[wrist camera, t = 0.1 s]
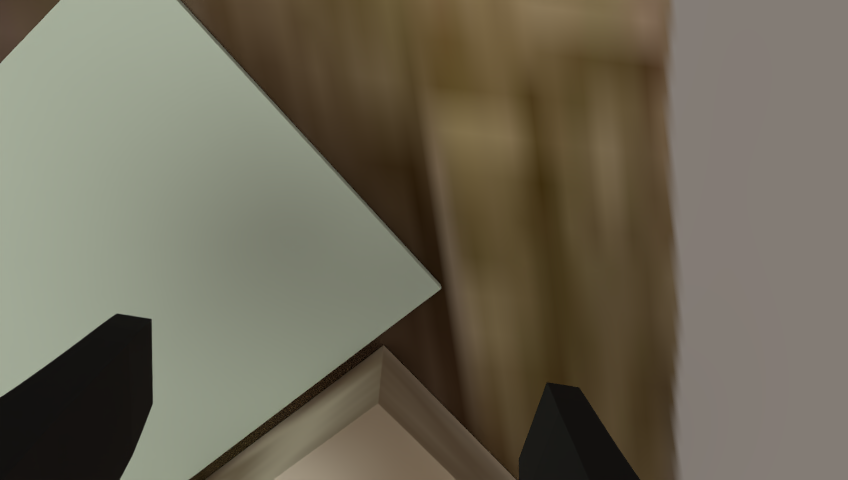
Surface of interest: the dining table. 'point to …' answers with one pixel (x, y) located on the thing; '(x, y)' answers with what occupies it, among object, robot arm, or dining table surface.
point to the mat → (180, 227)
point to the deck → (368, 435)
